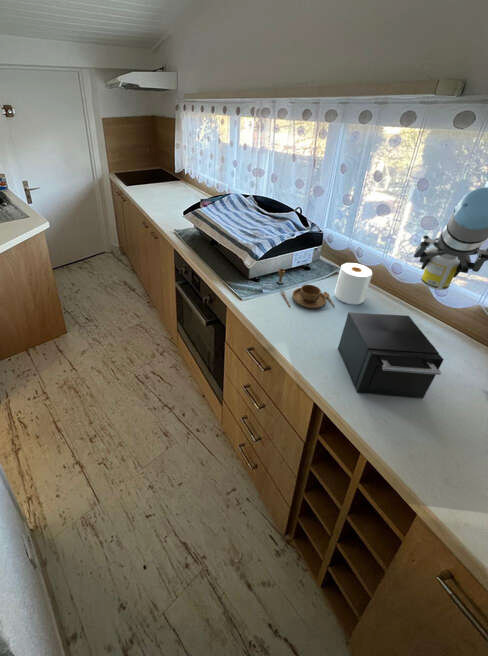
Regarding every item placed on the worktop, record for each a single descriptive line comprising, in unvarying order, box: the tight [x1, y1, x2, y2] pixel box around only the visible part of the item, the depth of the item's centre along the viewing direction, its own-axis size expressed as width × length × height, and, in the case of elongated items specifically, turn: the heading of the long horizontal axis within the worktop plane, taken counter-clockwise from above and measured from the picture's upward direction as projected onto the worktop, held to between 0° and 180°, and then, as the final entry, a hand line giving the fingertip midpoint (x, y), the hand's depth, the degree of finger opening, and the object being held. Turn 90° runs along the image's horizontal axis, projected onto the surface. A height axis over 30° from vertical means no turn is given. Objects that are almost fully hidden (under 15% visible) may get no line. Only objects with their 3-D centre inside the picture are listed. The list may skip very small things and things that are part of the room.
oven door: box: [354, 350, 444, 400], centre depth 74 cm, size 5×16×14 cm, turn 83°
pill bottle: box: [420, 254, 460, 291], centre depth 85 cm, size 6×6×12 cm
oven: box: [337, 311, 440, 388], centre depth 83 cm, size 14×16×14 cm
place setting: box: [277, 268, 336, 310], centre depth 117 cm, size 18×20×6 cm
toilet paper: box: [334, 262, 373, 305], centre depth 113 cm, size 10×10×12 cm
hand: (439, 268), depth 88 cm, fingers closed on pill bottle, 6 cm apart
